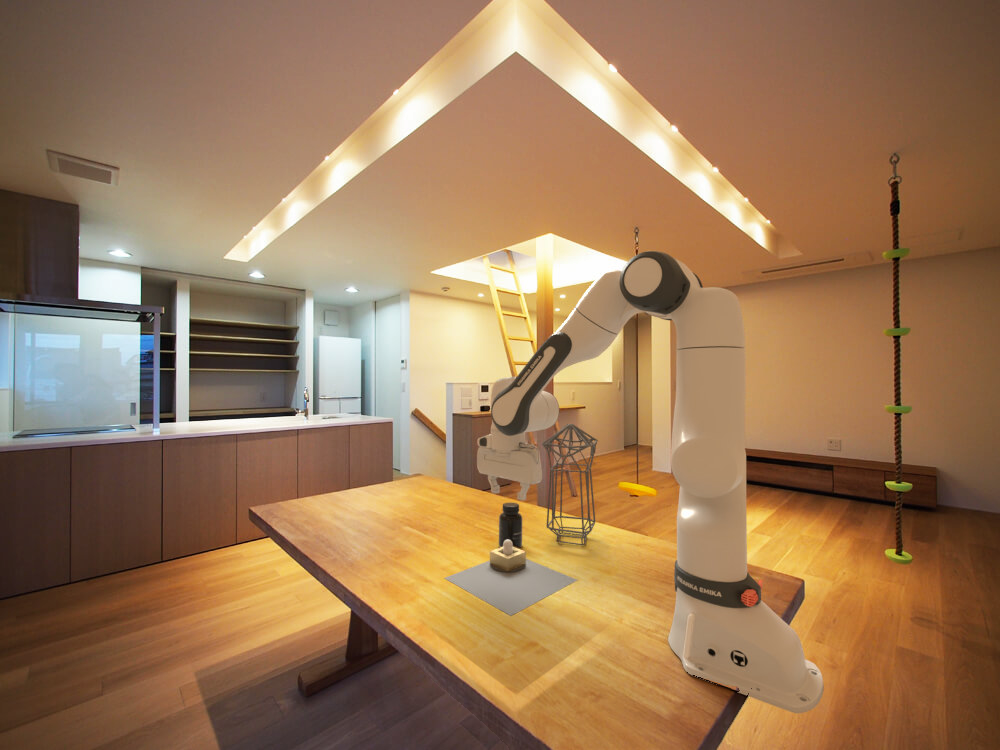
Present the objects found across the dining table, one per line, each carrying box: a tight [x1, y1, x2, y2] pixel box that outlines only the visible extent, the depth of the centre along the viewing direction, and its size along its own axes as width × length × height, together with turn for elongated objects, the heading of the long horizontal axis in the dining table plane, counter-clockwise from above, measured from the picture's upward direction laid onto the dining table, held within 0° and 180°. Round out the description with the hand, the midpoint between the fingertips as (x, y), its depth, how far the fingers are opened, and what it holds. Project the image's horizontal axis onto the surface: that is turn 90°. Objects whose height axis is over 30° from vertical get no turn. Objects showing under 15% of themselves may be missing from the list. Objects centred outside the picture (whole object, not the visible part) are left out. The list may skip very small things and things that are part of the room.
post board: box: [444, 539, 578, 617], centre depth 96 cm, size 22×22×8 cm
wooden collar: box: [489, 546, 527, 571], centre depth 104 cm, size 6×6×3 cm
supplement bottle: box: [498, 502, 523, 549], centre depth 120 cm, size 7×7×12 cm
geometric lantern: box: [541, 423, 599, 546], centre depth 126 cm, size 16×16×35 cm
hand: (508, 496), depth 104 cm, fingers open, 8 cm apart
